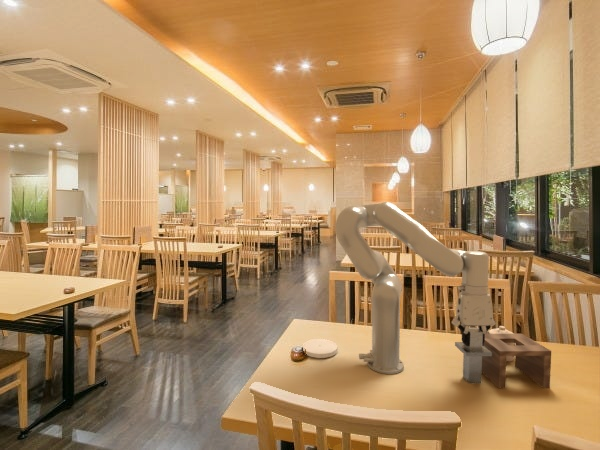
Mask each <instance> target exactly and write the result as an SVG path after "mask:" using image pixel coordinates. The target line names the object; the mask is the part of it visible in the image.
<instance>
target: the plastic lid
mask: <svg viewBox="0 0 600 450" xmlns="http://www.w3.org/2000/svg"><path fill="white" fill-rule="evenodd" d="M302 347H304V348H305V349H306V354H307V355H306V354H305V355H306V356H308V357H310V358H311V357H312V358H316V359H318V358H319V359H325V358H329V357H332V356H335V355H337V353H338V350H339V346H338V343H336V342H335V341H332V340H329V339H326V338H325V339H324V338H312V339H308V340H306V341H305V342H303V343H302V345H301V348H302Z"/></svg>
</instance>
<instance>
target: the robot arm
mask: <svg viewBox="0 0 600 450" xmlns="http://www.w3.org/2000/svg"><path fill="white" fill-rule="evenodd" d="M377 226H378V227H379V226H380V227H381V228H383V229H384V230H386V231H387V232H388V233H390V234H391V235H392V236H394V237H395V238H397V239H398V240H399V241H401V242H402V243H403V244H405V246H406V247H407V248H408V249H410V250H411V251H413V252H414V253H415V254H416V255H418V256H419V257H420V258H421V259H423V260H424V261H425V262H426V263H427V264H429V265H430V266H432V267H433V268H434V269H435V270H437V271H438V272H440V273H441V274H443V275H445V276H449V277H454V276H458V275H460V273H461V284H460V285H458V286H457V290H458V291H460V292H459V294H458V298H457V303H456V309H455V310H456V311H455V312H456V313H455V316H454V317H453V319H452V321H451V324H452V325H453V326H455V327H456V328H458V329H459V330H460V331H461V342H463V343H464V344H465V345H466V346H469V334H468V330H469V328H470V327H477V328H478V329H479V330H480V331H482V332H483V342H482V346H484V342H485V334H488V332H489V330H491V328H492V327H493V326H495V325H496V324H497V323H496V321H495V319H494V310H493V307H494V306H493V302H492V297H491V294H490V293H488V292H489V291H488V290H489V269H490V268H489V266H490V265H489V264H490V256H489V254H488V253H487V252H485V251H479V250H467V251H466V250H459V249H453V248H450V247H447V246H446V245H445V244H443V243H442V242H441V241H439V240H438V239H436V237H434V236H433V235H432V234H431V233H430V232H429V231H428V230H427V228H426V227H424V225H422V224H421V223H420V222H419V221H417V220H416V219H415V218H413V217H411V216H410V215H408V214H407V213H406V212H404V211H403V210H402V209H400V208H399V207H398V205H396V204H395V203H393V202H390V201H383V202H380V203H371V204H363V205H362V204H361V205H350V206H347V207H345V208H344V209H342V210H341V211H340V213H339V214H338V215H337V218H336V221H335V224H334V231H335V232H334V233H335V236H336V239H337V242H338V243H339V244H340V246H341V248H342V249H343V251H344V252H345V253H346V256H347V257H348V259H349V260H350V261H351V263H352V265H353V266H354V267H355V269H356V271H357V272H358V274H359V275H360V276H361V277H362V278H363V279H365V280H370V281H371V283H372V284H373V286H372V290H371V313H372V314H371V315H372V316H371V318H372V319H371V320H372V321H371V322H372V323H371V324H372V325H371V327H372V330H371V332H372V333H371V338H372V340H371V349H370V350H369V352H367V353H358V359H359V360H363V362H365V363H367V366H368V367H369V368H370V369H371V370H372V371H374V372H377V373H380V374H384V375H385V374H386V375H394V374H398V373H401V372H403V370H404V368H405V367H404V366H405V364H404V362H403V361H402V360H401V359H400V347H401V346H400V343H401V342H400V341H401V340H400V338H401V337H400V336H401V335H400V334H401V333H400V332H401V326H400V325H401V316H400V315H401V314H400V313H401V306H400V305H401V303H400V302H401V295H402V290H403V285H402V280H401V279H400V277H399V276H398V275H397V273H396V272H395V270H394V268H393V267H392V266H391V264H390V263H389V261H388V260H387V259H386V257H385V255H383V254H382V253H381V252H379V250H378V251H377V250H374V249H372V247H371V246H370V245H369V242H367V240H366V239H365V238H364V236H363V235H362V234H361V232H360V228H364V227H365V228H367V227H368V228H369V227H377ZM459 322H460V323H459Z"/></svg>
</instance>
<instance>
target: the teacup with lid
mask: <svg viewBox="0 0 600 450" xmlns="http://www.w3.org/2000/svg"><path fill="white" fill-rule="evenodd" d="M487 334H515V333H514V332H512V331H510V330H508V329H506V327H505V326H503V325H499V326H498V327H496V328H492V329H491V328H490V329H489V330H488V331H487ZM506 344H507V345H516V343H506ZM514 360H515V356H506V363H507V362H513V361H514Z"/></svg>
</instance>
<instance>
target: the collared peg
mask: <svg viewBox="0 0 600 450" xmlns="http://www.w3.org/2000/svg"><path fill="white" fill-rule="evenodd" d="M468 334H469V346H466V345H465V344H464V343H463V342H462V341H455V342H454V346H455V347H456V348H457V349H458V350H459V351H461V353H463V356H462V357H463V359H462V361H463V362H462V378H463V379H464V380H465V382H467V383H468V384H482V374H483V373H482V356H492V352H491V351H489V350H488V349H487V348H486V347H484V346H482V342H483V332H482V331H480V330H479V329H478V327H469V330H468Z"/></svg>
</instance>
